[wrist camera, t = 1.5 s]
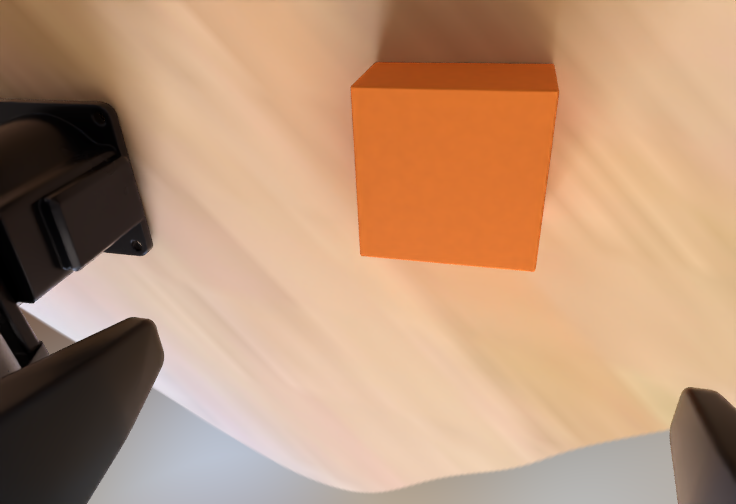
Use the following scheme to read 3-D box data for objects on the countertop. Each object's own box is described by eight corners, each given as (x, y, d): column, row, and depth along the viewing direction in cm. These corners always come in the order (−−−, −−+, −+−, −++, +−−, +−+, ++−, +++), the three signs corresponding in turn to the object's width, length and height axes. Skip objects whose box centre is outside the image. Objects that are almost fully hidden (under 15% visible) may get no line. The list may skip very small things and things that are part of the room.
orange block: (380, 215, 21) (360, 256, 18) (374, 61, 18) (349, 85, 15) (534, 226, 19) (535, 272, 17) (555, 63, 16) (559, 89, 14)
